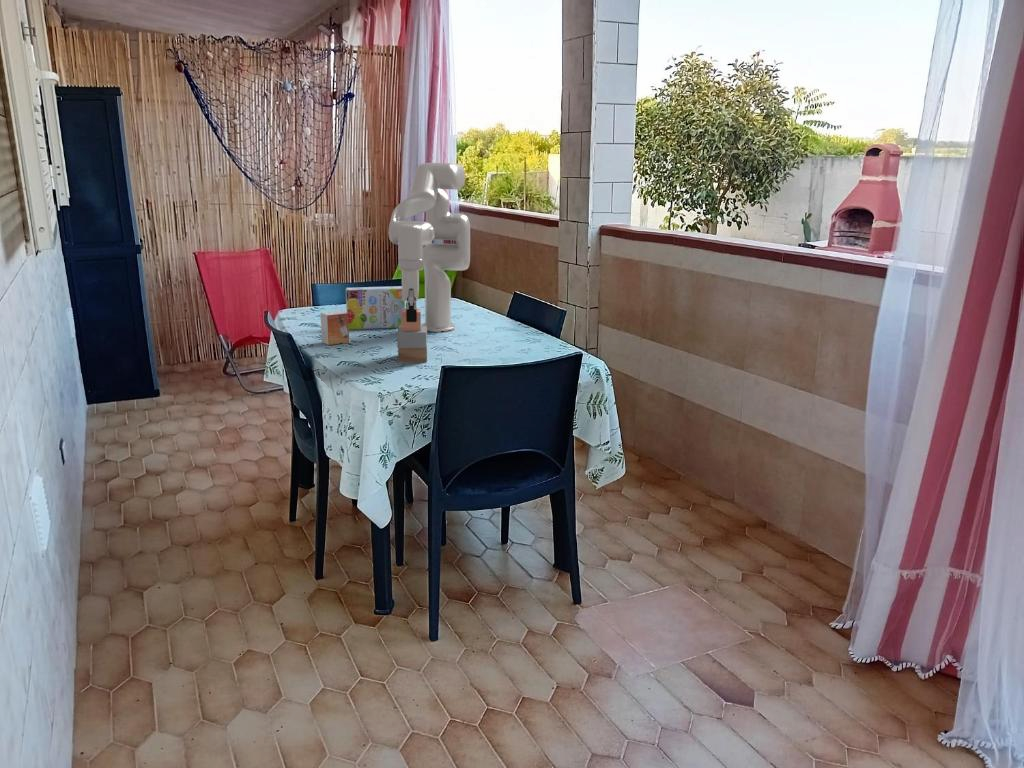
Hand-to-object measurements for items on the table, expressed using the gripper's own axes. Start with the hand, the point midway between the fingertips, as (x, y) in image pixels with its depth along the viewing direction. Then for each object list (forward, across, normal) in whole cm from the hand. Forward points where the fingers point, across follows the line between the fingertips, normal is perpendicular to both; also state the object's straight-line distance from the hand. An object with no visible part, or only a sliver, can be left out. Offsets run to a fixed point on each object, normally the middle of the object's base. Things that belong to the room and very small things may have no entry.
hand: (411, 318), depth 245 cm
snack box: (+13, -45, -13) cm, 49 cm away
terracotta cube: (+3, 0, 0) cm, 3 cm away
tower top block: (+8, 0, 0) cm, 8 cm away
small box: (+13, -22, -26) cm, 37 cm away
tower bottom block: (+13, 0, 0) cm, 13 cm away
